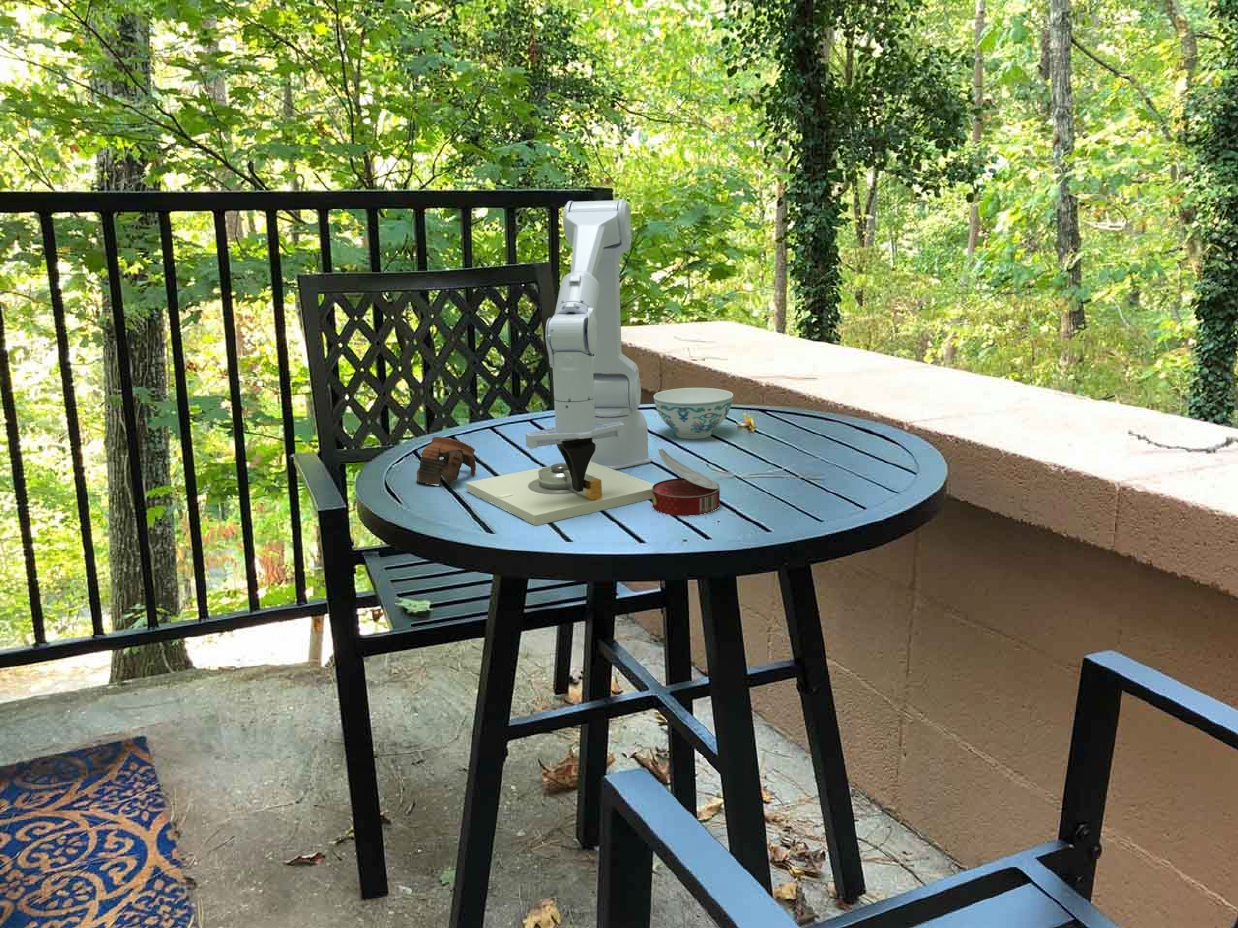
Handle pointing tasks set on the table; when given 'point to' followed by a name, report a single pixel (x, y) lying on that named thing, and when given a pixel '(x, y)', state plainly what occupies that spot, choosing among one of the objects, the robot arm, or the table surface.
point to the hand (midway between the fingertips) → (578, 490)
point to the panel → (558, 494)
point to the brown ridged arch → (444, 460)
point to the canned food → (685, 491)
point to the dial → (568, 481)
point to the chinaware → (693, 410)
